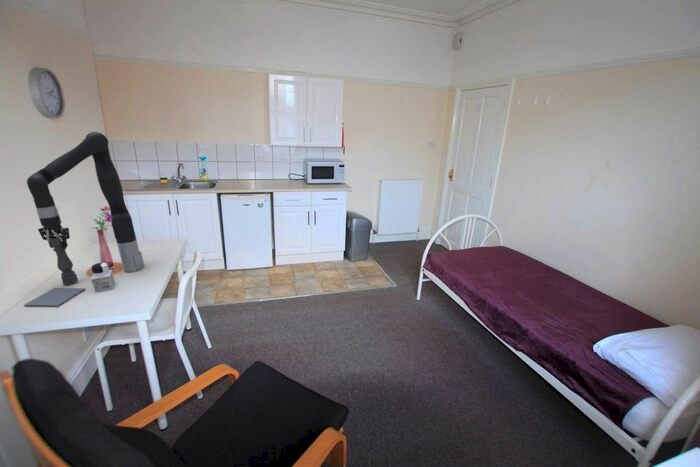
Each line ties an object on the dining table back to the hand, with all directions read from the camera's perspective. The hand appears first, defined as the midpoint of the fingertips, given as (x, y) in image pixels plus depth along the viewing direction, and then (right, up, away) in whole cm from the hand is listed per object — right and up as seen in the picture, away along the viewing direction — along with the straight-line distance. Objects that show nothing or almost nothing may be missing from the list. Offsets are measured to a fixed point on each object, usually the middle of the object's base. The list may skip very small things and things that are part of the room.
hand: (59, 247), depth 168 cm
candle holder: (0, -19, +7) cm, 20 cm away
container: (+22, -21, +2) cm, 30 cm away
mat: (+5, -24, -8) cm, 26 cm away
